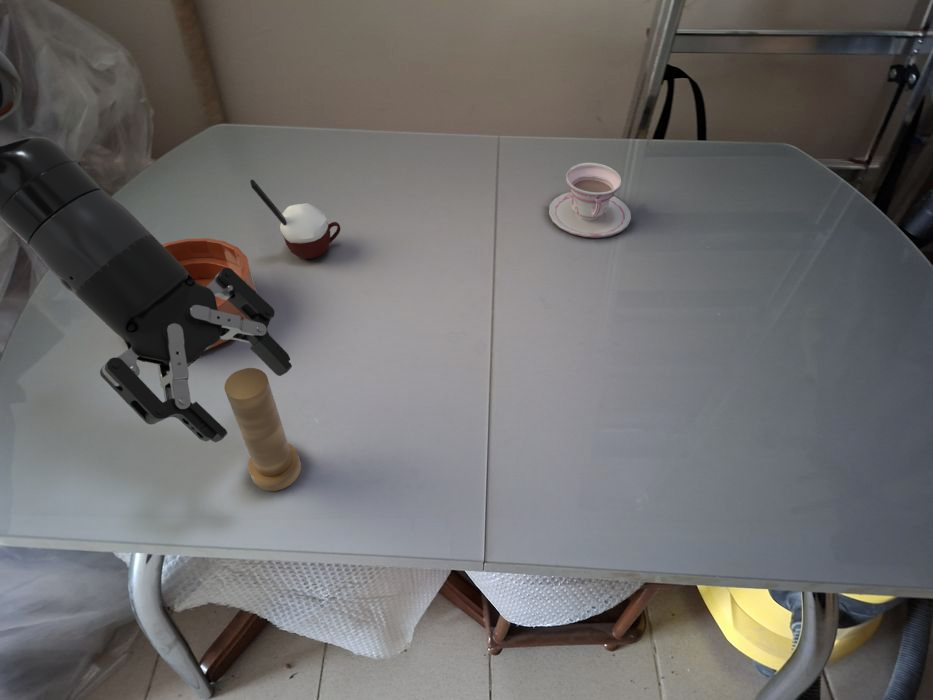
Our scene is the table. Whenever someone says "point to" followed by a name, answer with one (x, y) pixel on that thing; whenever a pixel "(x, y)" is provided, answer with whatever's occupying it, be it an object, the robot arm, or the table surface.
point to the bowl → (212, 265)
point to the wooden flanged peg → (262, 430)
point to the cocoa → (302, 227)
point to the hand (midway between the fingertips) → (255, 403)
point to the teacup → (591, 202)
